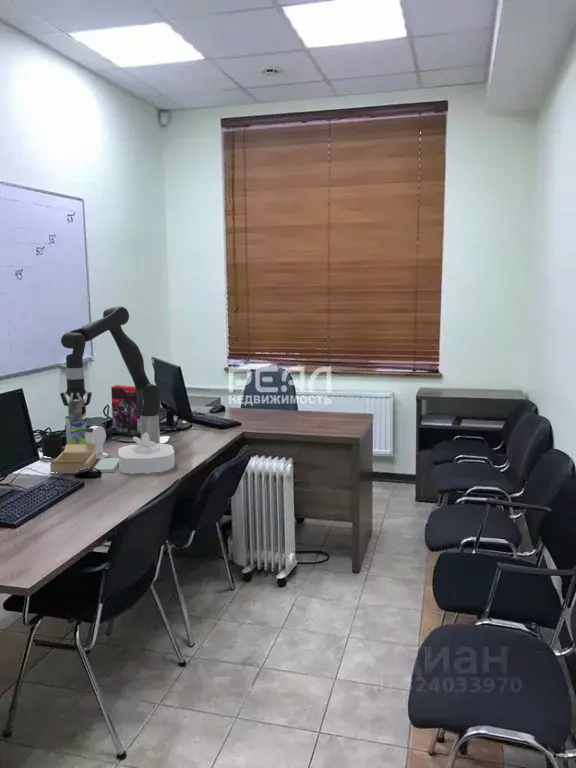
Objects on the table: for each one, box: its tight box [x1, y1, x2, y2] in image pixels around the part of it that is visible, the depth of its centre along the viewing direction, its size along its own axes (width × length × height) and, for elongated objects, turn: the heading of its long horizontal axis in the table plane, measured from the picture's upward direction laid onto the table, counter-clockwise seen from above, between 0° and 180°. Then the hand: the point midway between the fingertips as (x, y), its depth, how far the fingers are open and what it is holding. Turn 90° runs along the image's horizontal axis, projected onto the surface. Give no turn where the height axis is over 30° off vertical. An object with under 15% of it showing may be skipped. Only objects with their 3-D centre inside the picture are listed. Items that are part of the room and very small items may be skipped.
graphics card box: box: [110, 384, 143, 437], centre depth 350 cm, size 17×7×27 cm, turn 68°
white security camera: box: [85, 423, 109, 460], centre depth 307 cm, size 12×11×15 cm
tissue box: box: [117, 433, 176, 475], centre depth 292 cm, size 25×25×16 cm
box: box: [64, 415, 87, 445], centre depth 320 cm, size 10×4×17 cm, turn 151°
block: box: [67, 397, 87, 421], centre depth 285 cm, size 4×13×8 cm, turn 4°
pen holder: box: [40, 433, 63, 459], centre depth 306 cm, size 9×9×10 cm
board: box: [94, 457, 119, 474], centre depth 290 cm, size 9×18×2 cm, turn 5°
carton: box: [48, 444, 97, 474], centre depth 288 cm, size 16×28×7 cm, turn 5°
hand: (77, 414), depth 285 cm, fingers closed on block, 4 cm apart
